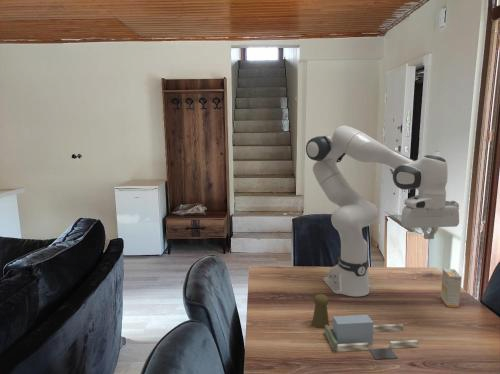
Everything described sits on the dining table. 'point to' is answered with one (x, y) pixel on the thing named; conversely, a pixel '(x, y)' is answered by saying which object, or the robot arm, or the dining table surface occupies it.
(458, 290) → the supplement box
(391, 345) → the lane
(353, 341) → the grey brick
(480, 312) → the dining table surface
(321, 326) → the cork
